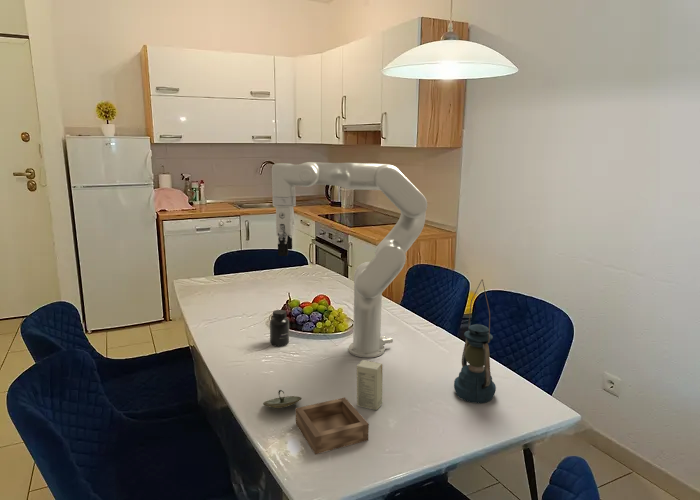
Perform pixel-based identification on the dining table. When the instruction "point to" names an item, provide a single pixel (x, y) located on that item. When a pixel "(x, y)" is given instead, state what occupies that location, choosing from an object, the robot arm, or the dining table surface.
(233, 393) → the dining table surface
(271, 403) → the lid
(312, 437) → the wooden tray
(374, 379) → the skincare box
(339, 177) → the robot arm
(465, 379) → the lantern
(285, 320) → the supplement bottle
